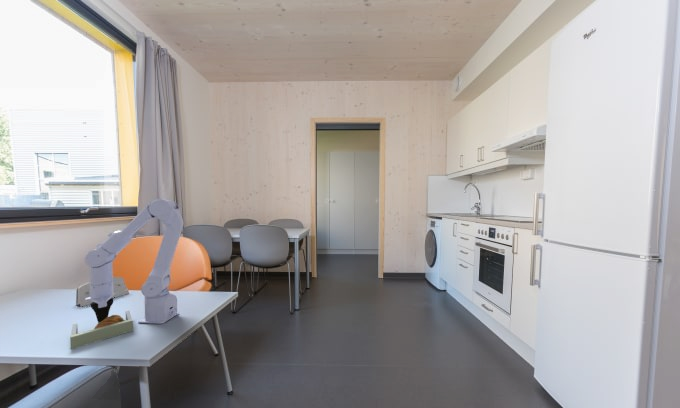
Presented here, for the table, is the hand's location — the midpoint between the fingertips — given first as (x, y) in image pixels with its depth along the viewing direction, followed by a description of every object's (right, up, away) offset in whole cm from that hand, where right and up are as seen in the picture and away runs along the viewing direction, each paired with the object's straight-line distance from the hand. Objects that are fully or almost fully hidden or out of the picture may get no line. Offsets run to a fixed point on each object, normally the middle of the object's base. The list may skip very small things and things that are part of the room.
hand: (102, 321), depth 85 cm
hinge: (-23, -2, +24) cm, 33 cm away
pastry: (+5, -2, -3) cm, 6 cm away
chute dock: (+4, -1, -4) cm, 6 cm away
